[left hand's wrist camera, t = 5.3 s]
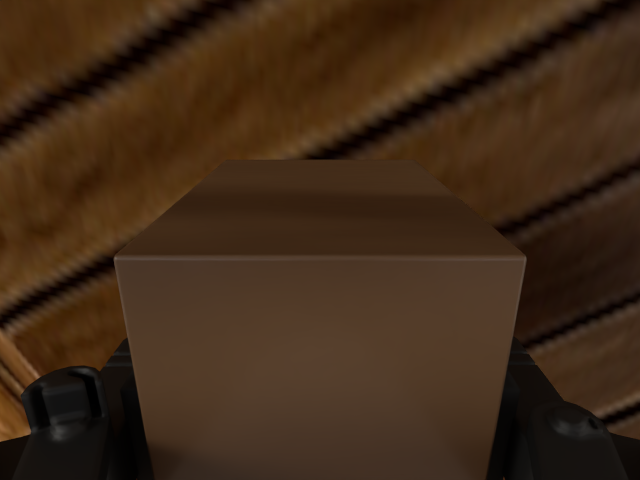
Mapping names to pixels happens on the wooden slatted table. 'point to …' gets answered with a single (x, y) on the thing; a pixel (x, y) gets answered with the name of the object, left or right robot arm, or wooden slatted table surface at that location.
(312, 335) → the bar
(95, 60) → the wooden slatted table surface
